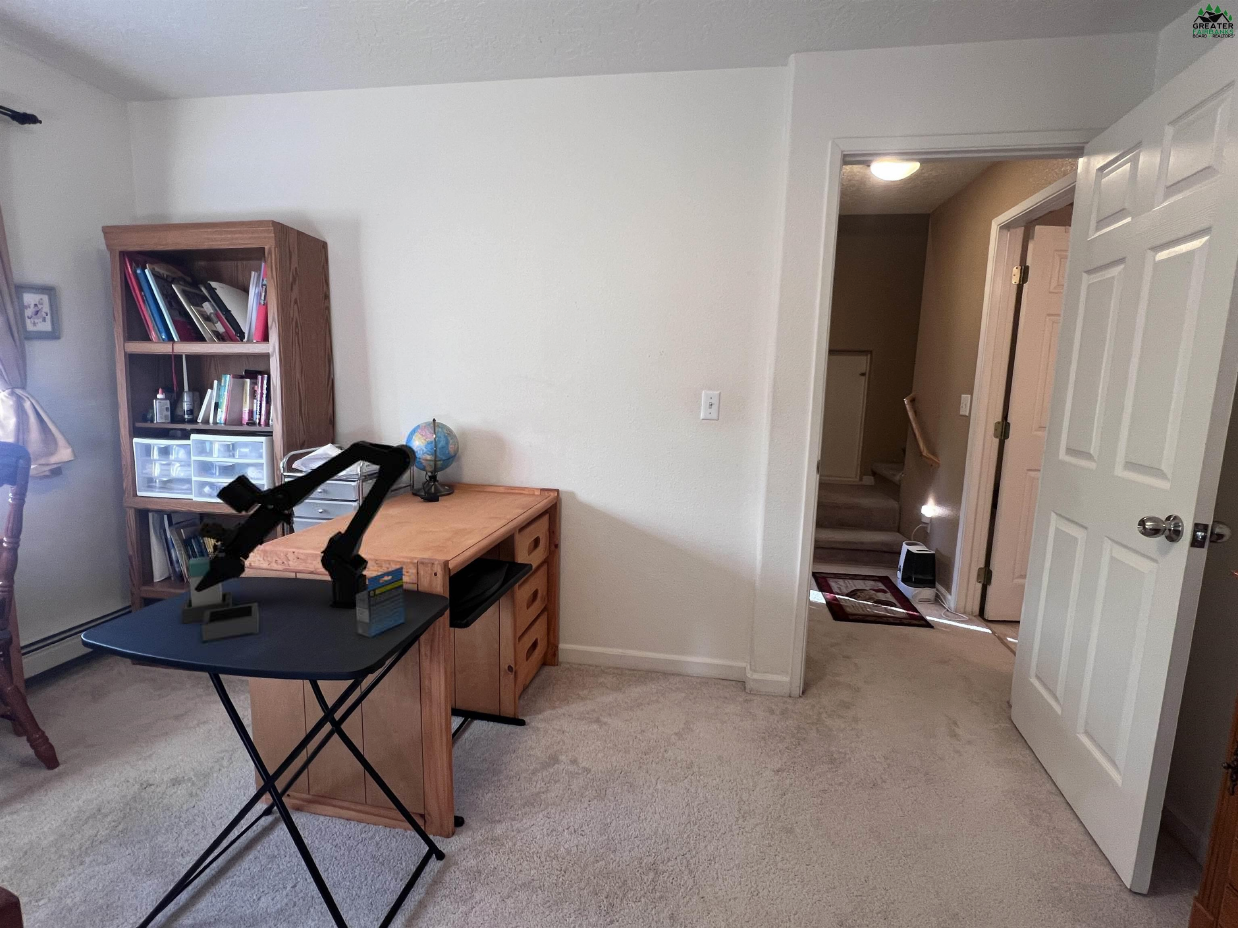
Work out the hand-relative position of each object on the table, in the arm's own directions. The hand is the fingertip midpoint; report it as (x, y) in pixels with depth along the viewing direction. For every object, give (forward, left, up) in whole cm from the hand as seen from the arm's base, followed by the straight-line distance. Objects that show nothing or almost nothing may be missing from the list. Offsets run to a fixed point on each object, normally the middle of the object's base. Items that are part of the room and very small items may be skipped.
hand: (197, 584), depth 121 cm
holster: (-1, -1, -7) cm, 7 cm away
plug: (-1, -1, -7) cm, 7 cm away
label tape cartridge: (-40, -2, -7) cm, 41 cm away
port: (-12, +5, -7) cm, 15 cm away
